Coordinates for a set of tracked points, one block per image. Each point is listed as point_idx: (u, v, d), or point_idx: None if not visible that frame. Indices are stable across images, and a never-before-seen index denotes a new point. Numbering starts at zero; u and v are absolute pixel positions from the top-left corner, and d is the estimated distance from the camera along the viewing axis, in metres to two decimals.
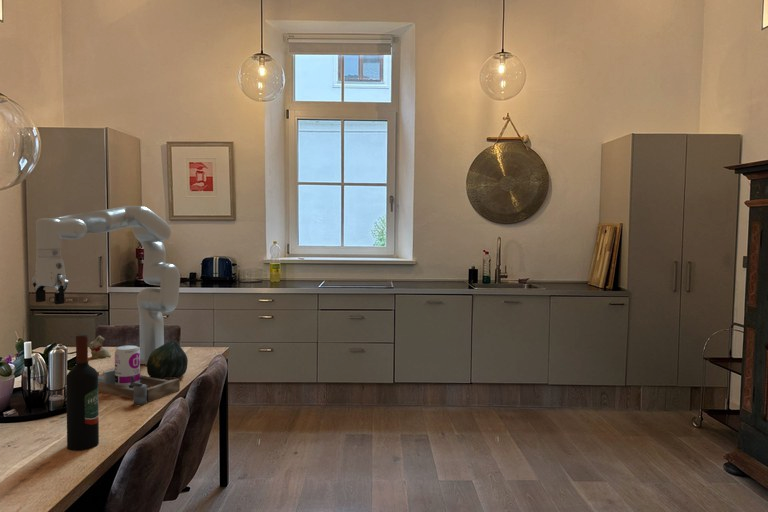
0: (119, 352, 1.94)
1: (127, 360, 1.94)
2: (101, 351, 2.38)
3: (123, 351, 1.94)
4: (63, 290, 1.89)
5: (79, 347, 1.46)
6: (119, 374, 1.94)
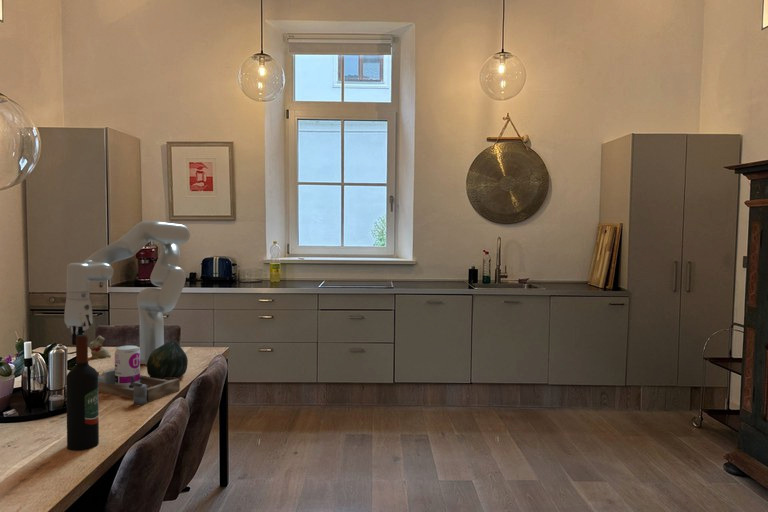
0: (119, 352, 1.94)
1: (127, 360, 1.94)
2: (101, 351, 2.38)
3: (123, 351, 1.94)
4: (82, 332, 2.06)
5: (79, 347, 1.46)
6: (119, 374, 1.94)
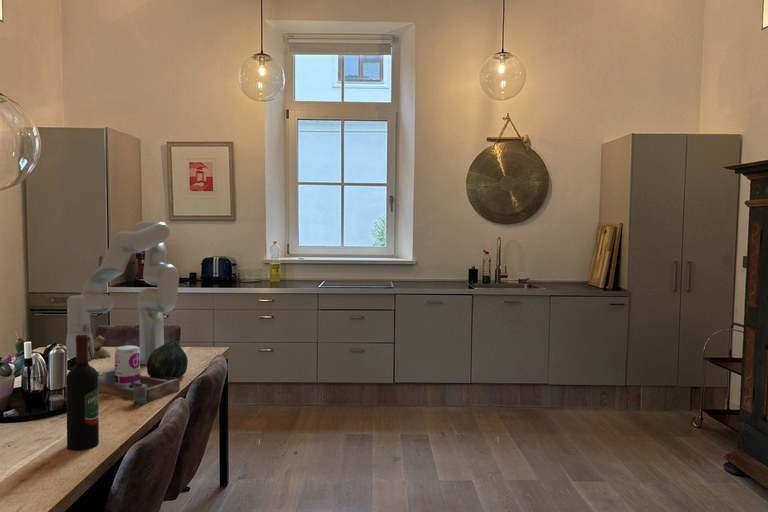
0: (119, 352, 1.94)
1: (127, 360, 1.94)
2: (101, 351, 2.38)
3: (123, 351, 1.94)
4: None
5: (79, 347, 1.46)
6: (119, 374, 1.94)
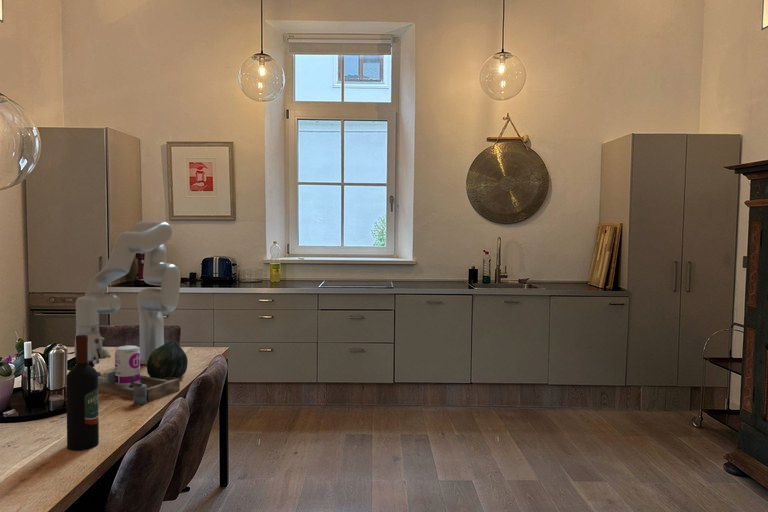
0: (119, 352, 1.94)
1: (127, 360, 1.94)
2: None
3: (123, 351, 1.94)
4: (92, 365, 2.05)
5: (79, 347, 1.46)
6: (119, 374, 1.94)
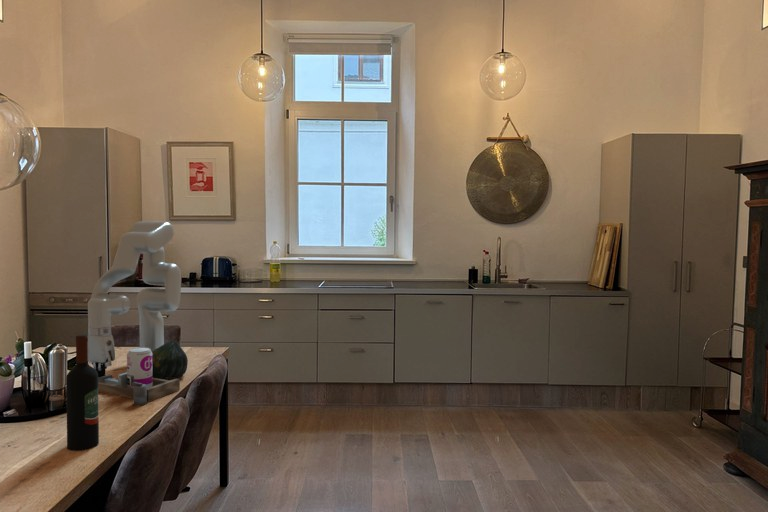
0: (130, 354, 1.91)
1: (139, 363, 1.91)
2: None
3: (135, 353, 1.91)
4: (105, 368, 2.03)
5: (79, 347, 1.46)
6: (130, 377, 1.91)
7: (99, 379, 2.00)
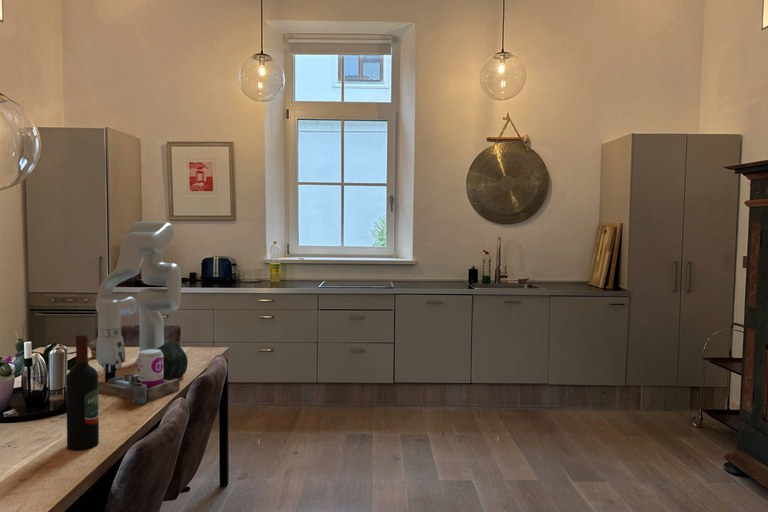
0: (141, 356, 1.89)
1: (150, 365, 1.89)
2: None
3: (146, 355, 1.89)
4: (115, 369, 2.01)
5: (79, 347, 1.46)
6: (141, 379, 1.89)
7: (109, 381, 1.98)
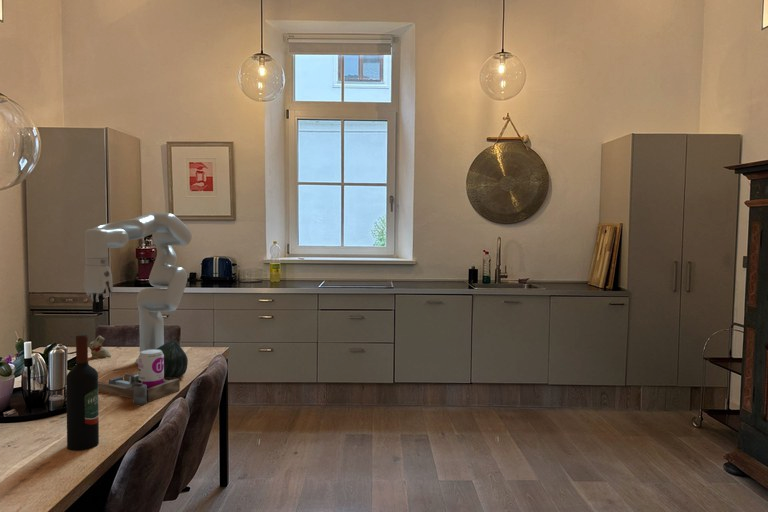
0: (142, 356, 1.89)
1: (150, 365, 1.89)
2: (101, 351, 2.38)
3: (146, 355, 1.89)
4: (102, 299, 2.02)
5: (79, 347, 1.46)
6: (142, 379, 1.89)
7: (110, 381, 1.98)
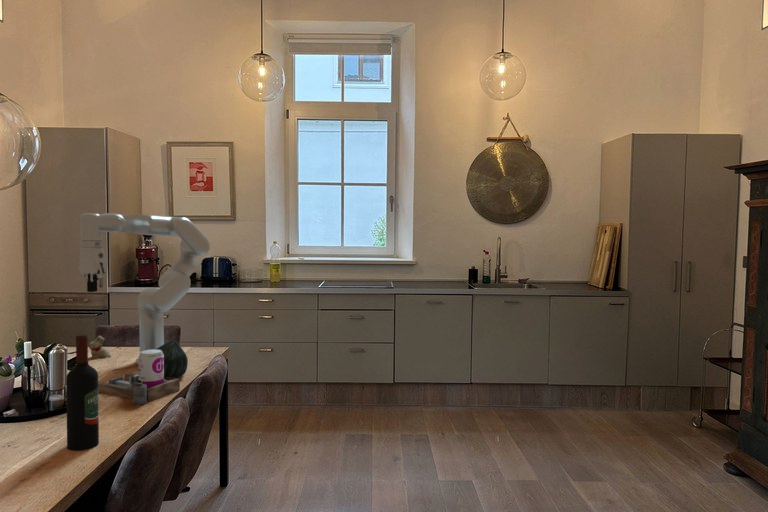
0: (142, 356, 1.89)
1: (150, 365, 1.89)
2: (101, 351, 2.38)
3: (146, 355, 1.89)
4: (96, 279, 2.15)
5: (79, 347, 1.46)
6: (142, 379, 1.89)
7: (110, 381, 1.98)
